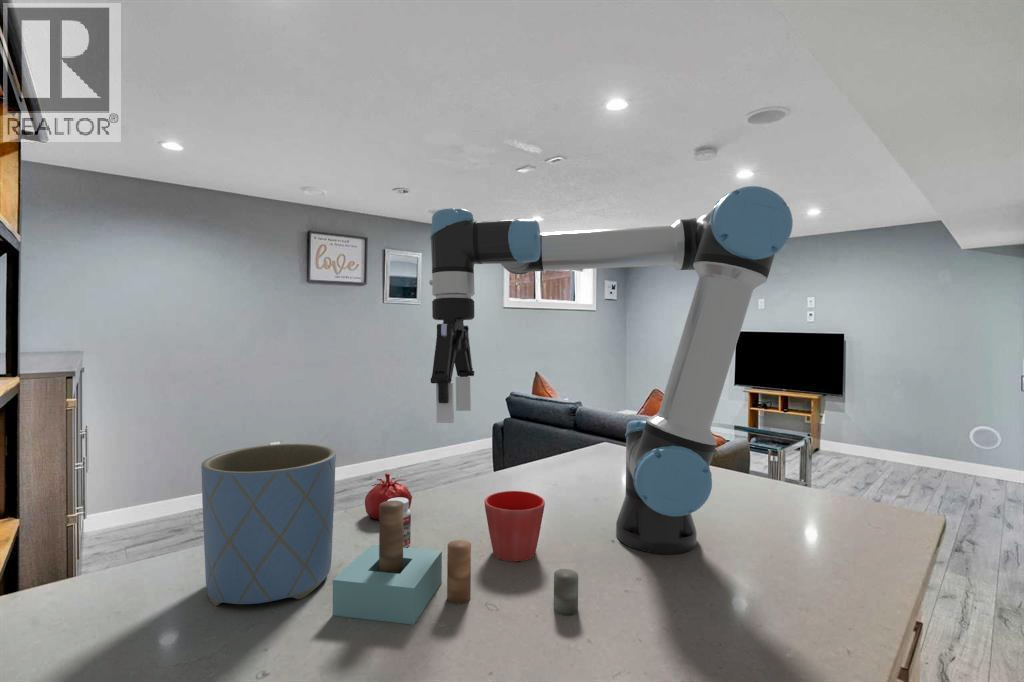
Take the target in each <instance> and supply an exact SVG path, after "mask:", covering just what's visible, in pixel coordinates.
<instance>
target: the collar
mask: <svg viewBox="0 0 1024 682" xmlns="http://www.w3.org/2000/svg"><path fill="white" fill-rule="evenodd" d="M442 564H443V551H442V550H436V549H435V550H433V549H424V548H423V549H421V548H412V547H406V548H403V571H402V572H401V573H400V574H397V573H386V572H379V544H377V545H376V544H371V545H370V546H369V547H367V548H366V549H365V550H364V551H363V552H361V553H360V555H358V556H357V558H355V559H354V560H353V561H351V562H350V563H349V565H347V566H346V567H345V568H344V569H343V570H342V571H341V572H340V573H338V574H337V575H336V576H335V577H334V578H333V579H332V616H334V617H344V618H354V619H360V620H369V621H379V622H386V623H396V624H403V625H404V624H405V625H413V626H415V624H416V622H417V621H418V619H419V618H420V616H421V615H422V613H423V612H424V610H425V608H426V607H427V605H428V604H429V603H430V601H431V600H432V598H433V596H434V595H435V593H436V592H437V590H438V588H439V587H440V586H441V583H442V582H443V581H442V578H443V573H442V571H443V570H442V569H443V565H442Z"/></svg>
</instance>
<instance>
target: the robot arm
mask: <svg viewBox="0 0 1024 682" xmlns="http://www.w3.org/2000/svg"><path fill="white" fill-rule="evenodd" d="M793 225H794V224H793V215H792V211H791V209H790V207H789V205H787V203H786V201H785V200H784V198H783V197H782V196H781V195H780V194H778V193H777V192H775V191H774V190H771V189H769V188H767V187H762V186H756V185H749V186H743V187H740V188H737V189H734V190H732V191H731V192H729V193H726V194H725V195H724V196H722V197H720V199H719V200H718V201H717V202H716V203H715V205H714V207H712V209H711V210H710V211H708V212H707V213H706V214H703V215H699V216H697V217H694V218H687V219H686V218H685V219H677V220H676V221H675V222H674V223H673V224H672V225H659V226H657V225H656V226H643V227H642V226H641V227H624V228H623V227H622V228H606V229H589V230H588V229H587V230H573V231H571V230H569V231H555V232H554V231H553V232H541V230H540V223H539V222H538V220H536V219H534V218H532V219H531V218H529V219H528V218H526V219H525V218H521V217H519V218H515V219H503V220H502V219H501V220H500V219H499V220H485V221H484V220H483V221H482V220H481V221H480V220H479V221H478V220H475V219H474V215H473V213H472V212H471V211H470V210H467V209H464V208H442V209H439V210H437V211H435V212H434V213H433V214H432V217H431V234H430V246H431V247H430V248H431V249H430V251H431V279H429V282H428V283H429V285H430V286H431V287H432V288H431V289H432V290H431V291H432V292H431V293H432V296H433V297H435V298H433V300H432V301H431V305H432V306H431V307H432V308H431V309H432V312H431V314H432V316H431V317H432V319H433V320H435V321H443V322H442V323H438V324H437V325H436V341H435V348H434V349H435V350H434V356H433V365H432V373H431V377H430V384H435V386H436V387H435V391H436V392H435V393H436V394H435V395H436V401H435V402H436V423H437V424H438V423H439V424H441V423H442V424H453V423H454V422H455V419H454V412H455V411H456V412H458V411H459V412H460V411H461V412H467V411H468V412H469V411H471V410H472V409H471V406H472V405H471V404H472V403H471V402H472V401H471V400H472V399H471V377H475V370H473V363H472V355H471V347H470V345H471V344H470V338H469V330H470V328H469V325H468V324H467V325H465V324H464V321H471V320H473V319H474V318H475V301H474V299H473V298H472V297H473V296H474V295H475V273H474V272H475V270H474V268H475V265H485V264H486V265H487V264H488V265H489V264H490V265H491V264H497V265H498V264H500V265H501V266H502V267H503V268H504V270H505V271H507V272H509V273H511V274H514V275H525V274H528V273H530V272H544V271H545V272H546V271H567V270H569V271H570V270H571V271H572V270H589V269H590V270H591V269H592V270H593V269H610V268H611V269H612V268H614V269H616V268H618V269H619V268H634V267H635V268H638V267H659V266H660V267H661V266H664V267H665V266H672V267H673V268H674V269H676V270H677V271H695V272H696V274H697V275H698V280H697V284H696V287H695V290H694V294H693V297H692V301H691V304H690V307H689V310H688V313H687V316H686V320H685V323H684V326H683V330H682V333H681V337H680V339H679V343H678V347H677V350H676V354H675V357H674V360H673V363H672V366H671V369H670V374H669V377H668V380H667V383H666V386H665V390H664V393H663V396H662V399H661V403H660V407H659V409H658V411H657V413H656V414H654V415H651V416H650V417H648V418H647V419H645V420H644V419H642V420H640V419H639V420H636V419H635V420H630V421H629V422H628V423H627V424H626V432H625V434H624V436H625V443H626V444H625V450H626V451H625V452H626V453H625V496H624V499H623V502H622V505H621V508H620V511H619V514H618V516H617V520H616V522H615V524H616V525H615V526H616V527H615V534H616V538H617V539H618V541H620V542H621V543H623V544H625V545H626V546H628V547H631V548H633V549H636V550H639V551H643V552H646V553H647V552H648V553H654V554H661V555H663V554H665V555H670V554H671V555H672V554H673V555H674V554H681V553H682V554H683V553H686V552H689V551H691V550H693V549H694V548H696V546H697V535H698V533H697V528H696V525H695V522H694V518H693V515H692V513H694V512H697V511H698V510H700V508H702V507H703V506H704V505H705V504H706V502H707V501H708V499H709V498H710V496H711V492H712V488H713V480H712V479H713V478H712V477H713V476H712V471H711V469H710V466H711V463H712V459H713V456H714V453H715V449H716V446H717V443H718V442H717V440H716V438H715V436H714V435H713V433H712V430H711V429H712V426H713V421H714V419H715V416H716V412H717V410H718V406H719V403H720V400H721V399H720V398H721V396H722V393H723V389H724V386H725V383H726V379H727V376H728V374H729V371H730V370H729V369H730V366H731V364H732V360H733V357H734V353H735V351H736V347H737V343H738V340H739V339H740V338H739V337H740V334H741V330H742V328H743V325H744V321H745V318H746V315H747V311H748V309H749V305H750V301H751V298H752V296H753V292H754V290H755V289H756V288H757V287H760V286H762V285H763V284H766V282H767V281H768V278H769V275H770V271H771V269H772V265H773V263H774V259H775V256H776V254H777V253H779V252H780V251H781V250H782V249H783V248H784V246H785V245H786V243H787V242H788V240H789V239H790V238H791V237H790V236H791V233H792V231H793ZM454 368H455V370H456V375H457V376H456V377H455V411H454V383H453V382H452V377H453V373H454Z"/></svg>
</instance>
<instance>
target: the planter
mask: <svg viewBox="0 0 1024 682" xmlns="http://www.w3.org/2000/svg"><path fill="white" fill-rule="evenodd" d="M336 455H337V454H336V450H334V449H333V448H331V447H328V446H324V445H319V444H312V443H310V444H309V443H280V444H279V443H278V444H266V445H257V446H250V447H244V448H243V447H242V448H238V449H233V450H229V451H225V452H221V453H218V454H214V455H213V456H210V457H208V458H206V459H205V460H203V461H202V462H201V467H200V469H201V470H200V471H201V495H202V500H201V501H202V525H203V527H202V528H203V542H204V543H203V549H204V569H205V571H204V573H205V587H206V592H207V596H208V599H209V600H210V602H211V604H212V605H214V606H215V607H218V606H220V605H221V604H222V603H225V604H232V605H233V604H234V605H255V604H263V603H270V602H273V601H279V600H284V599H289V598H294V599H295V600H297V601H298V600H302V599H304V598H306V597H307V596H308V595H310V594H311V593H312V592H313V591H314V590H315V589H316V588H317V587H318V586H320V585H321V584H322V582H323V581H324V580H325V579H326V578H327V576H328V575H329V573H330V571H331V567H332V561H333V560H332V557H333V553H332V552H333V532H334V510H335V491H336V490H335V488H336V487H335V486H336V484H335V483H336V457H337V456H336Z"/></svg>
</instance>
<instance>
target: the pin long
mask: <svg viewBox="0 0 1024 682" xmlns="http://www.w3.org/2000/svg"><path fill="white" fill-rule="evenodd" d="M403 511H404V503H403V502H401V501H386V502H383V503H381V504H380V509H379V519H378V520H379V521H378V523H379V526H378V528H379V530H378V532H379V534H378V538H379V539H378V542H379V543H378V545H379V572H386V573H397V574H400V573H401V572H402V571H403Z"/></svg>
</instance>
